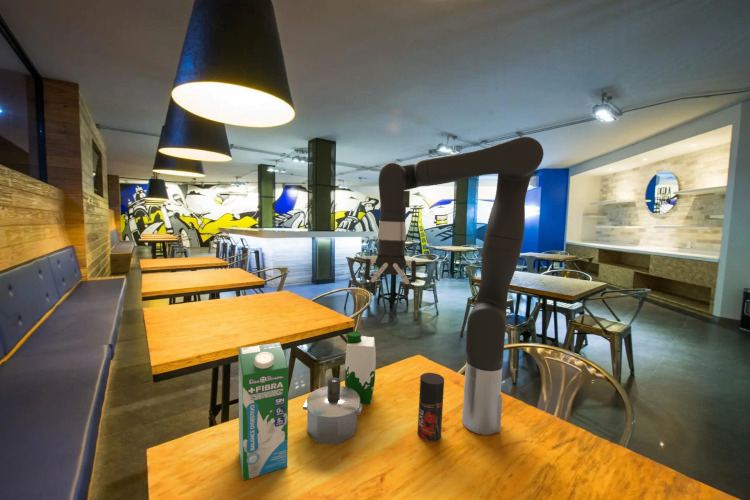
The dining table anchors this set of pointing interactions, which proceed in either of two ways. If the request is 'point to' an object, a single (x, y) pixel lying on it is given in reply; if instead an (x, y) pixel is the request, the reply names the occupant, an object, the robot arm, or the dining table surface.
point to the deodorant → (430, 407)
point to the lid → (333, 400)
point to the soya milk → (360, 365)
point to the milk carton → (263, 409)
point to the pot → (331, 427)
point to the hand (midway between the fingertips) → (389, 295)
